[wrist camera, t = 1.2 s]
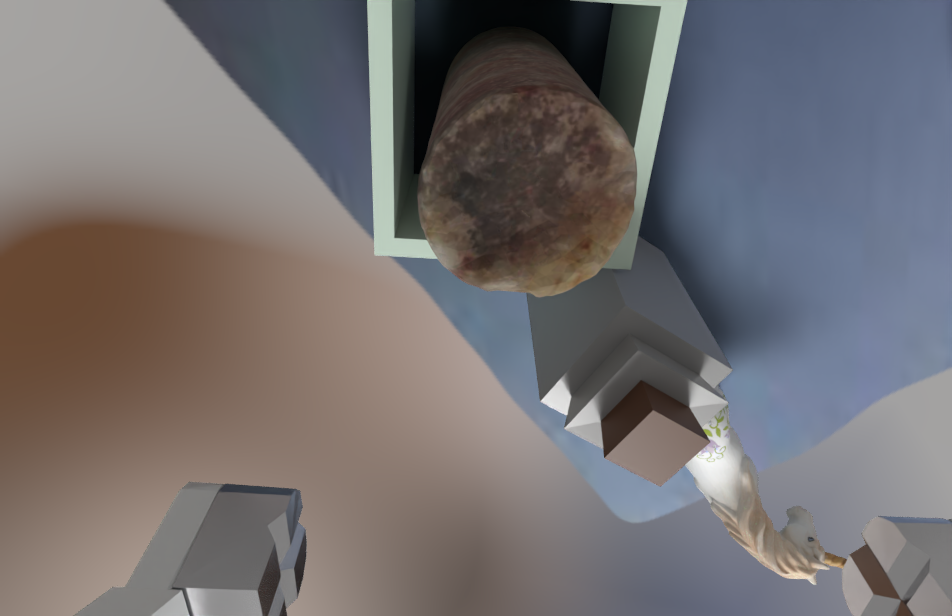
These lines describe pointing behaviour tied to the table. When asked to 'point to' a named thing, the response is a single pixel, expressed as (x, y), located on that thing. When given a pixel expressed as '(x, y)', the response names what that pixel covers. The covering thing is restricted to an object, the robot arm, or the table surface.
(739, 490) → the unicorn figurine
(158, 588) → the robot arm
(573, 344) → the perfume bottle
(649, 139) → the mint green open box
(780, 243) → the table surface
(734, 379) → the table surface
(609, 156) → the wooden log
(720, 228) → the table surface
